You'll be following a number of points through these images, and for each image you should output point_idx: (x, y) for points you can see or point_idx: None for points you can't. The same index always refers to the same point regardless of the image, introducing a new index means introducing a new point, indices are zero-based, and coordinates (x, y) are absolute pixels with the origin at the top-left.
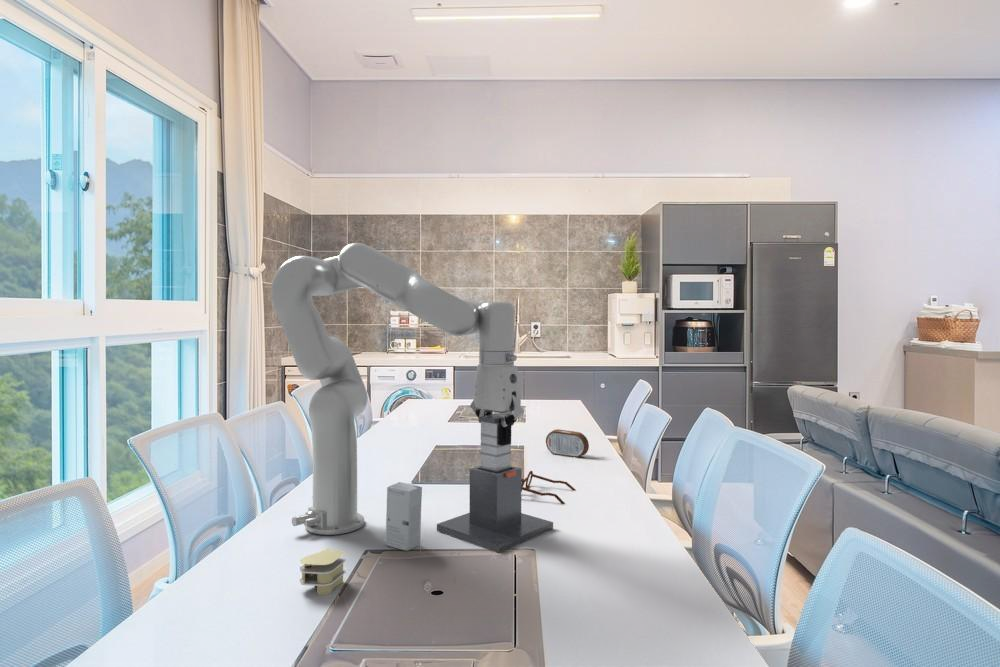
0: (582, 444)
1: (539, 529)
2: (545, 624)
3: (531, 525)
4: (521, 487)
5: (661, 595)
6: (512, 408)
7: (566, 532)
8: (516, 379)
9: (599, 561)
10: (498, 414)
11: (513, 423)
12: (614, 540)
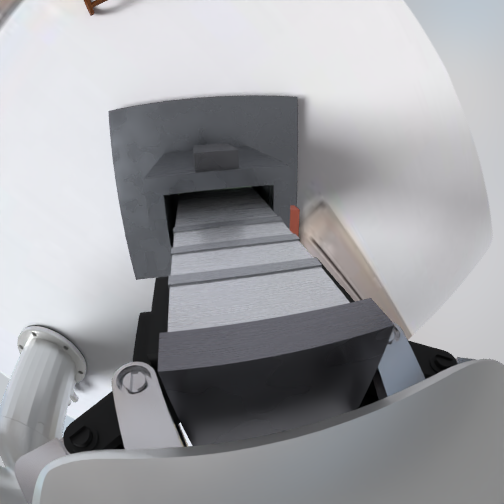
0: None
1: (296, 144)
2: (403, 314)
3: (275, 143)
4: (98, 1)
5: (462, 205)
6: (436, 389)
7: (321, 97)
8: None
9: (408, 172)
10: (233, 395)
11: (397, 330)
12: (393, 85)
